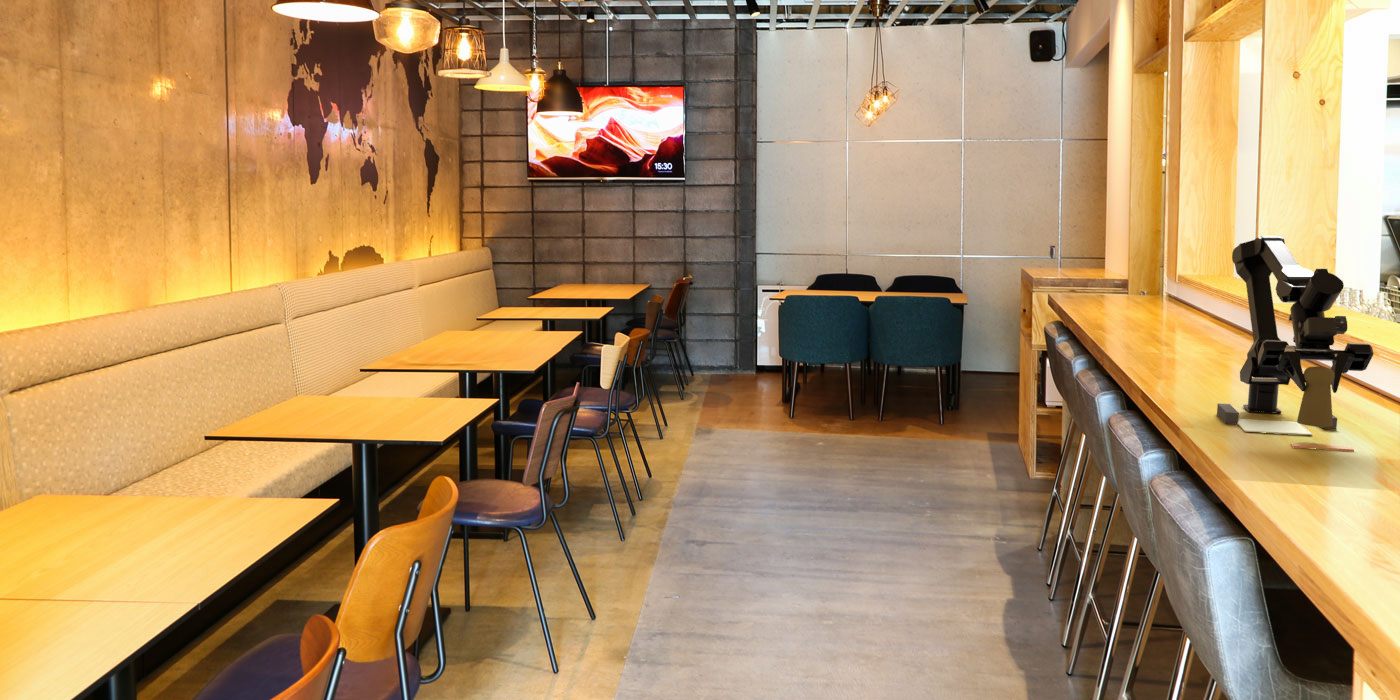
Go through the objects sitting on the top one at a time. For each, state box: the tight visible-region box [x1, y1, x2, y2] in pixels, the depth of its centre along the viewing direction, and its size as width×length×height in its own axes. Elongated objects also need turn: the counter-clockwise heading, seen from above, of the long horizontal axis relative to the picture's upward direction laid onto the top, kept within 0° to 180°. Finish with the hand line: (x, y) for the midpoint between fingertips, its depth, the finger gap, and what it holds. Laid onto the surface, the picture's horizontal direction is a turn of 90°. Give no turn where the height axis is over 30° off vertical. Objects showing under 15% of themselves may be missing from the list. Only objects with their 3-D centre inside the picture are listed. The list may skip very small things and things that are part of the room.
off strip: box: [1290, 443, 1355, 453], centre depth 192 cm, size 2×10×1 cm, turn 73°
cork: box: [1296, 366, 1335, 428], centre depth 197 cm, size 6×6×11 cm
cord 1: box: [1216, 403, 1240, 425], centre depth 218 cm, size 10×2×2 cm, turn 163°
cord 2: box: [1321, 414, 1338, 430], centre depth 213 cm, size 10×2×2 cm, turn 163°
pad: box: [1236, 418, 1313, 437], centre depth 210 cm, size 12×12×1 cm
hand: (1319, 390), depth 195 cm, fingers closed on cork, 5 cm apart
